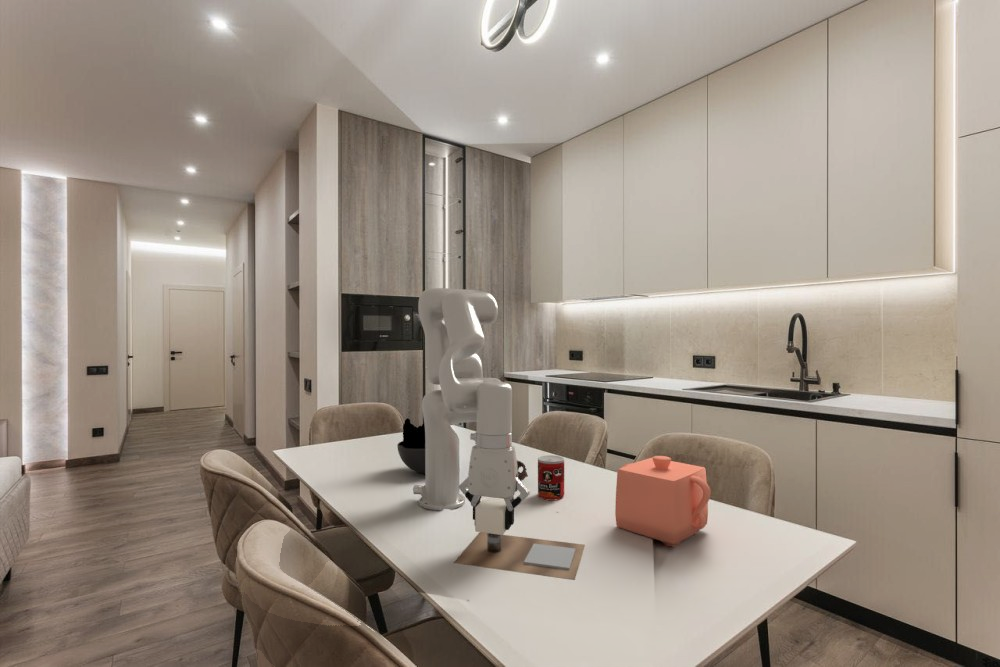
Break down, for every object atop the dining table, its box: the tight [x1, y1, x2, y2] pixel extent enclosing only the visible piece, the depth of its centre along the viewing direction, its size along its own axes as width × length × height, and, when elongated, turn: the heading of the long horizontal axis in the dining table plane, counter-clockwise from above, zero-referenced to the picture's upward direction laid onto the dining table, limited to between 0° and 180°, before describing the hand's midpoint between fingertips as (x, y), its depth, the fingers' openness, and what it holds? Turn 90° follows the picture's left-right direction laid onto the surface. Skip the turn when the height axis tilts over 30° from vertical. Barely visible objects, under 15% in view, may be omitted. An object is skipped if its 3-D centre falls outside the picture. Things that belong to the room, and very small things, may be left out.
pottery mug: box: [517, 459, 529, 482], centre depth 155 cm, size 12×10×8 cm
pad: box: [524, 544, 576, 570], centre depth 99 cm, size 9×9×1 cm
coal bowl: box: [396, 417, 425, 474], centre depth 168 cm, size 20×20×19 cm
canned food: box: [537, 454, 565, 501], centre depth 142 cm, size 8×8×11 cm
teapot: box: [614, 455, 712, 547], centre depth 118 cm, size 25×23×18 cm
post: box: [487, 533, 502, 553], centre depth 102 cm, size 3×3×4 cm
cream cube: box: [474, 497, 507, 535], centre depth 103 cm, size 6×6×5 cm
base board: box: [453, 532, 586, 581], centre depth 100 cm, size 24×16×2 cm, turn 73°
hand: (493, 524), depth 103 cm, fingers closed on cream cube, 6 cm apart
